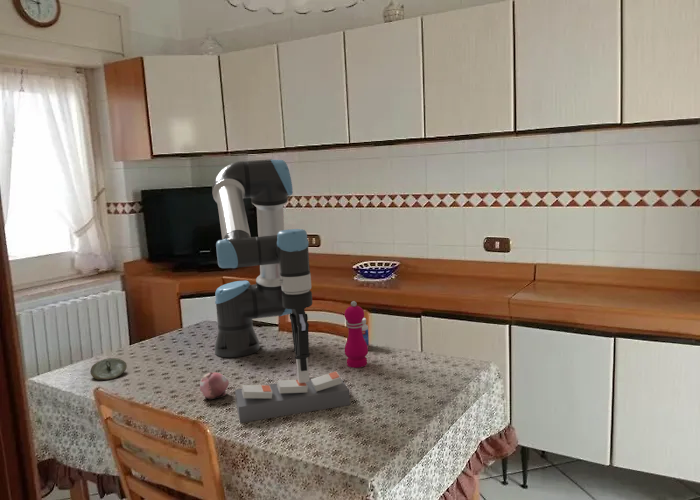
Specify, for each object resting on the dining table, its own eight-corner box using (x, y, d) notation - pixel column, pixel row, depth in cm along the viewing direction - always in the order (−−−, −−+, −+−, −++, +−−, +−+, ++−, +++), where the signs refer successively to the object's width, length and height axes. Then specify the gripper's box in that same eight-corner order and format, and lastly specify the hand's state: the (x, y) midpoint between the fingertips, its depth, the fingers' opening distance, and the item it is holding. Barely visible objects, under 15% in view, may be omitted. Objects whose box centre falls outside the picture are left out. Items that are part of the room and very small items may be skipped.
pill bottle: (360, 350, 193) (358, 322, 192) (349, 347, 197) (348, 319, 196) (372, 346, 197) (371, 318, 195) (362, 343, 201) (360, 315, 199)
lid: (127, 367, 189) (125, 352, 188) (127, 377, 180) (126, 361, 179) (91, 373, 185) (89, 358, 184) (90, 383, 176) (88, 367, 175)
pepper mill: (355, 359, 185) (351, 297, 182) (373, 363, 181) (370, 299, 178) (340, 365, 180) (336, 302, 177) (358, 370, 175) (355, 305, 172)
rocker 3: (312, 384, 154) (310, 378, 153) (337, 376, 155) (335, 370, 155) (316, 391, 149) (314, 385, 149) (342, 383, 151) (340, 376, 150)
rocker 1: (241, 390, 149) (242, 384, 149) (269, 391, 151) (269, 384, 151) (243, 398, 144) (244, 391, 144) (271, 398, 146) (272, 391, 146)
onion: (197, 402, 160) (192, 376, 161) (221, 395, 165) (217, 370, 166) (211, 400, 154) (207, 372, 155) (236, 393, 160) (232, 367, 161)
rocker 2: (276, 386, 151) (277, 379, 151) (303, 385, 153) (303, 378, 153) (279, 393, 146) (280, 386, 146) (307, 392, 148) (307, 385, 148)
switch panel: (236, 404, 155) (234, 388, 154) (338, 388, 162) (337, 373, 161) (239, 422, 143) (238, 406, 143) (350, 404, 150) (349, 389, 150)
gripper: (277, 288, 152) (285, 375, 155) (286, 298, 139) (293, 392, 143) (306, 284, 154) (312, 370, 157) (316, 294, 141) (323, 387, 144)
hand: (303, 381), depth 150 cm, fingers closed, pressing on rocker 2
